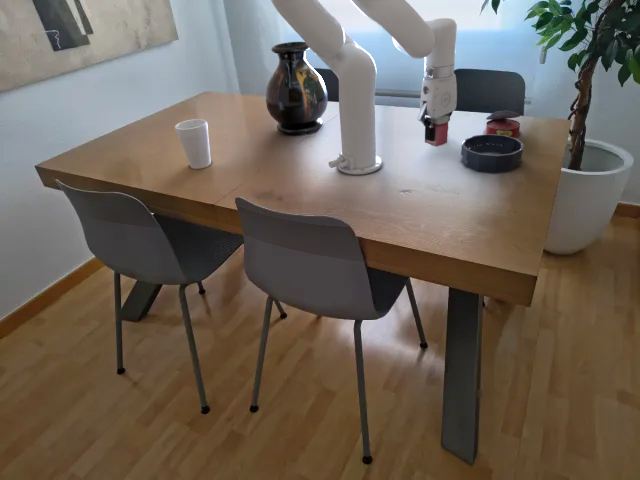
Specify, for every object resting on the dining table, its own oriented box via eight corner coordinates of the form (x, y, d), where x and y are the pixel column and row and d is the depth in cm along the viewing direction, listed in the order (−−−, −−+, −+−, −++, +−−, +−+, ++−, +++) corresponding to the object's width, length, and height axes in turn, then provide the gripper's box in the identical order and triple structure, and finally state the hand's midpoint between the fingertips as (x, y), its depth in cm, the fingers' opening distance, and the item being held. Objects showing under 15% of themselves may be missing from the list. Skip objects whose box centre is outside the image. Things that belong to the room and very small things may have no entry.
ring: (496, 178, 114) (498, 160, 111) (449, 162, 125) (450, 145, 122) (532, 161, 121) (535, 143, 118) (485, 146, 132) (487, 130, 129)
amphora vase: (324, 138, 149) (316, 49, 134) (263, 139, 153) (249, 53, 138) (334, 117, 167) (328, 37, 151) (278, 119, 171) (267, 41, 156)
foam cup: (185, 173, 135) (174, 131, 128) (185, 161, 142) (174, 122, 135) (216, 167, 136) (207, 126, 129) (214, 156, 144) (205, 117, 137)
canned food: (484, 149, 142) (472, 120, 139) (501, 136, 146) (490, 108, 144) (516, 140, 132) (503, 109, 130) (533, 127, 136) (521, 97, 134)
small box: (424, 142, 129) (424, 115, 124) (435, 138, 130) (436, 112, 126) (436, 147, 125) (437, 119, 121) (447, 143, 127) (449, 115, 122)
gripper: (427, 80, 111) (424, 149, 121) (472, 66, 118) (466, 132, 128) (405, 76, 116) (405, 142, 126) (450, 62, 123) (446, 126, 133)
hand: (436, 136), depth 127 cm, fingers closed on small box, 4 cm apart
